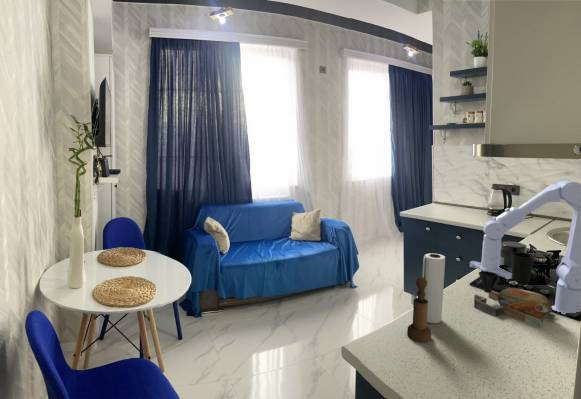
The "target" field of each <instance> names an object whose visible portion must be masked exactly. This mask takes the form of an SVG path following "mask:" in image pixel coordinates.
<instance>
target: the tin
mask: <svg viewBox="0 0 581 399" xmlns="http://www.w3.org/2000/svg"><path fill="white" fill-rule="evenodd" d="M498 293H499V295H498V301H497V302H498V304H499V306H502V305H505V306H507V307H510V308H512V309H515V310H517V311H520V312H522V313H525V314H527V315H530V316H532V317H535V318H537V319H540V320H541V321H543V320H546V319H545V318H547V317H548V316H549V314H550V312H551V306H552V302H551V301H550V300H549V299H548V298H547V297H546V296H545V295H543V294H542V293H538V292H535V291H530V290H525V289H520V288H517V287H510V286H509V287H507V288H503V289H502V290H501V291H500V292H498Z"/></svg>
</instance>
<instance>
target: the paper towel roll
mask: <svg viewBox="0 0 581 399" xmlns="http://www.w3.org/2000/svg"><path fill="white" fill-rule="evenodd" d="M422 261H423V262H422V277H423V278H425V279H426V280H427V286H426V287H425V289H424V292H425V297H424V299H426V300H427V301H428V309H427V323H429V324H440V323H441V322H442V318H443V316H442V315H443V302H444V301H443V300H444V283H445V282H444V281H445V270H446V269H445V267H446V256H445V255H443V254H440V253H425V254H424V255H423V260H422Z"/></svg>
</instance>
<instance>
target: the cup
mask: <svg viewBox="0 0 581 399" xmlns="http://www.w3.org/2000/svg"><path fill="white" fill-rule="evenodd" d="M511 259H512V277H511V280H512V279H513V280H515V281H517V282H518V283H520V284H523V285H526V284H528V283H530V279H531V275H532V270H533V264H534V260H535V255H533V254H530V253H528V252H527V253H522V252H514V253H512V254H511ZM528 285H529V284H528Z"/></svg>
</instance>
